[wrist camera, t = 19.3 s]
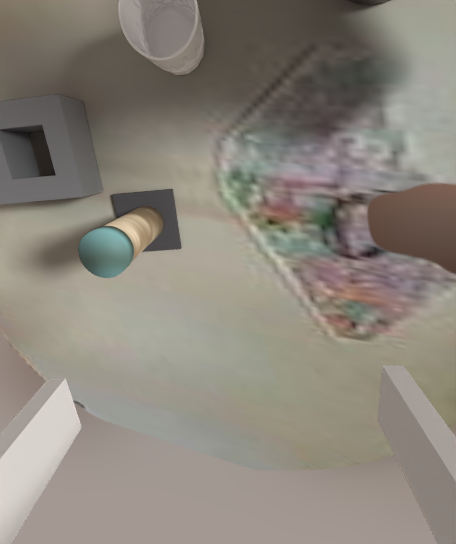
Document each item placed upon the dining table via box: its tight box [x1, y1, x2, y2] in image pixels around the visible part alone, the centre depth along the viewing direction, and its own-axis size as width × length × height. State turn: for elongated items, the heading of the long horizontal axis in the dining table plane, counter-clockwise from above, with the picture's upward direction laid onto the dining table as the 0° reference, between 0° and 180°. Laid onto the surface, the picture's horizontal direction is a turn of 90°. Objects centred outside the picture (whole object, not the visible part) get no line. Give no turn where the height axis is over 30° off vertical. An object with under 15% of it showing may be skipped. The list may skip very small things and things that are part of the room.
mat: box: [112, 189, 181, 252], centre depth 48 cm, size 9×9×1 cm
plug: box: [78, 206, 164, 278], centre depth 40 cm, size 5×5×16 cm
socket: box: [0, 94, 103, 205], centre depth 43 cm, size 12×12×6 cm
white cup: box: [118, 0, 205, 75], centre depth 35 cm, size 8×8×10 cm
